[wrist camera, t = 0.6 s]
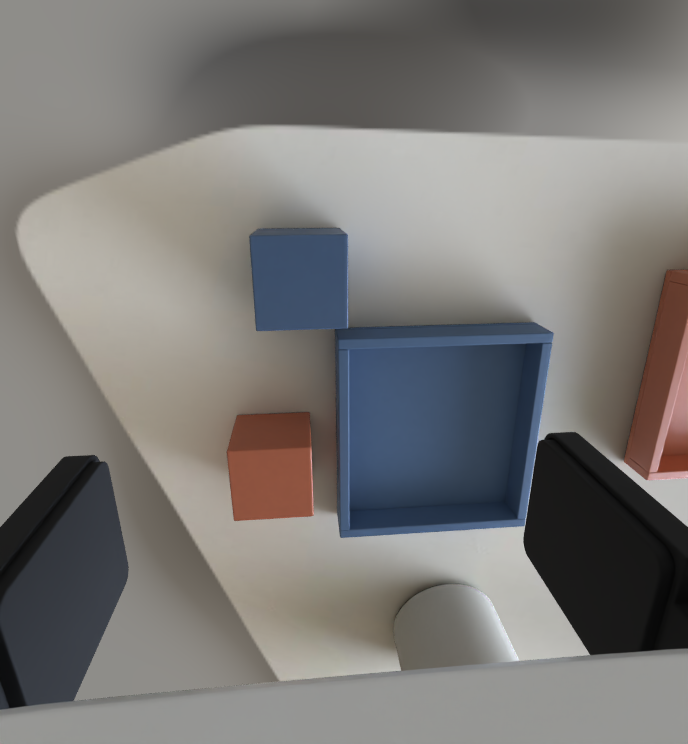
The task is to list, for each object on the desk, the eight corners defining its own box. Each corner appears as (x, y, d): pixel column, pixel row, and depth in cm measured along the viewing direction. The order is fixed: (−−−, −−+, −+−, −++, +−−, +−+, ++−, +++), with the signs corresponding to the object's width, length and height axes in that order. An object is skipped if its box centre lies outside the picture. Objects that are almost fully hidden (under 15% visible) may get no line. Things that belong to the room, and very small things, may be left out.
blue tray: (334, 327, 28) (338, 339, 26) (534, 322, 29) (554, 332, 27) (337, 514, 33) (340, 538, 31) (509, 504, 34) (524, 526, 32)
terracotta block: (236, 414, 30) (226, 451, 25) (309, 411, 30) (311, 447, 26) (242, 477, 31) (233, 521, 27) (311, 473, 32) (313, 516, 27)
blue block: (257, 228, 26) (249, 235, 22) (340, 227, 26) (348, 234, 22) (262, 310, 28) (255, 331, 23) (340, 308, 28) (348, 328, 24)
